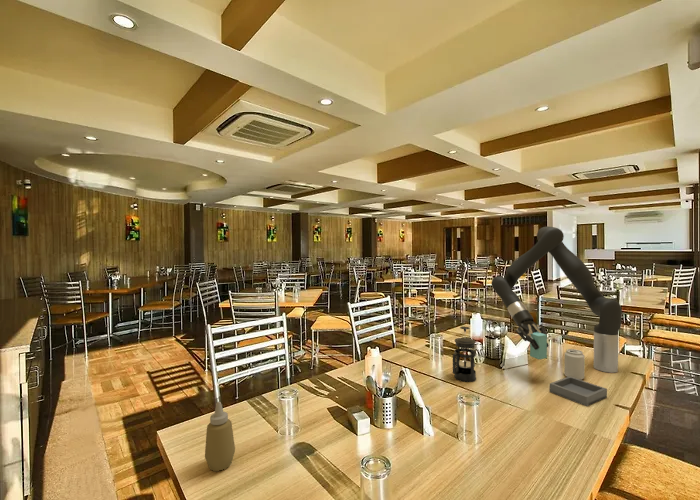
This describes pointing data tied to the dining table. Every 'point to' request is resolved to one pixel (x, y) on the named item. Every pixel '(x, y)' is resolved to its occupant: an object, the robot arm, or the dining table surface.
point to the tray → (578, 391)
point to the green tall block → (542, 343)
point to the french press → (465, 368)
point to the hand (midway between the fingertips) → (542, 347)
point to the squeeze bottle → (219, 440)
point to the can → (574, 364)
